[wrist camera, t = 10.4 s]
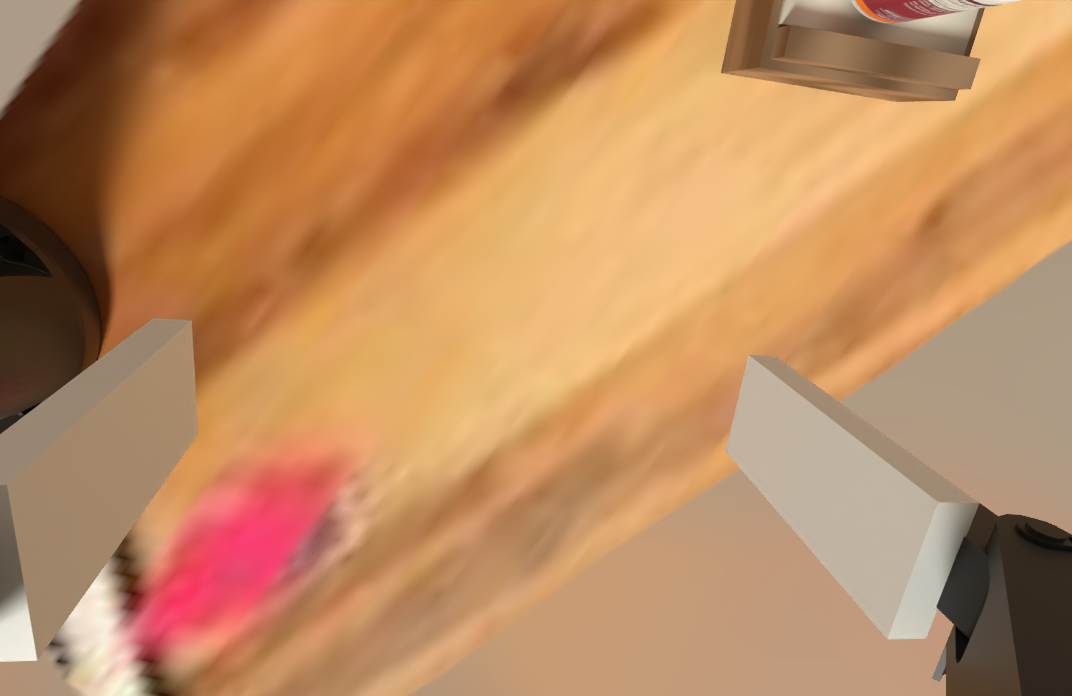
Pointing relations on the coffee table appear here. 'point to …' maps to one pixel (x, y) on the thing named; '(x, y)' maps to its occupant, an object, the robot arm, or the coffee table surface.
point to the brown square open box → (852, 49)
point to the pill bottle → (917, 8)
